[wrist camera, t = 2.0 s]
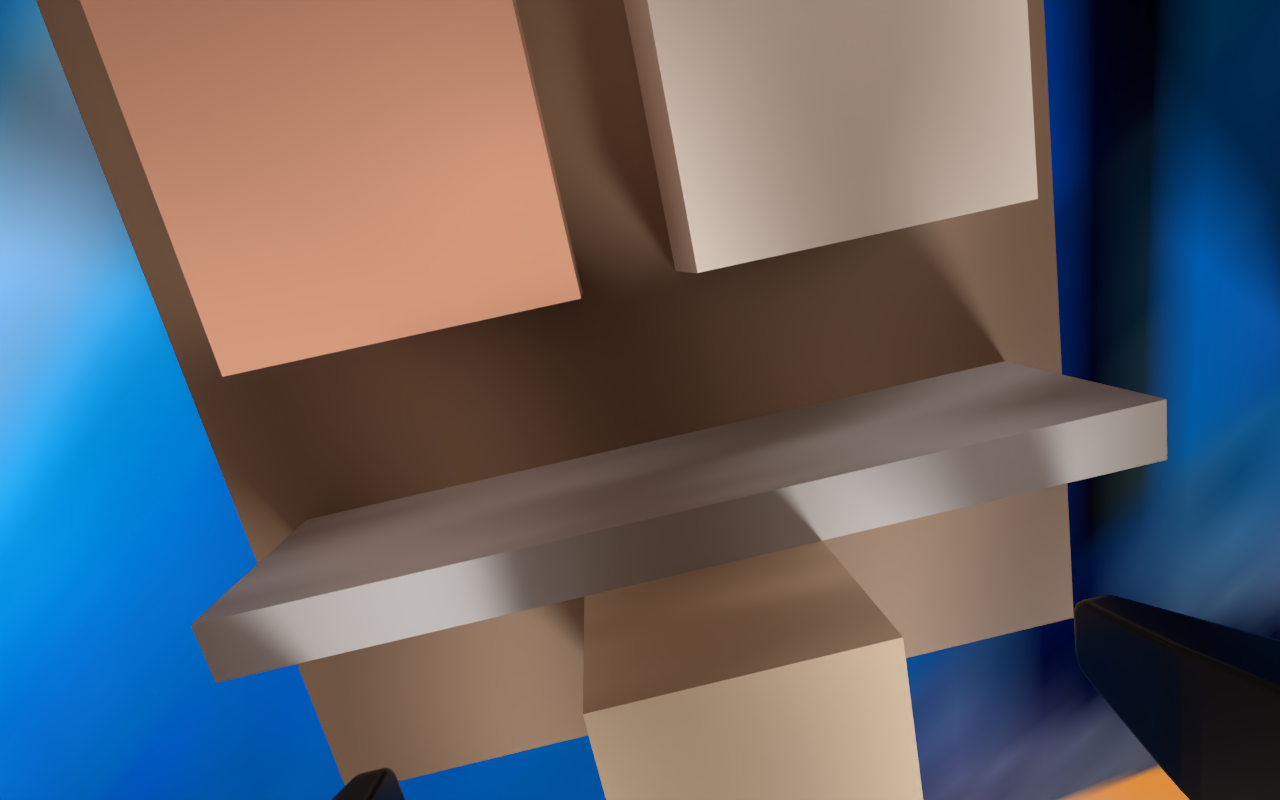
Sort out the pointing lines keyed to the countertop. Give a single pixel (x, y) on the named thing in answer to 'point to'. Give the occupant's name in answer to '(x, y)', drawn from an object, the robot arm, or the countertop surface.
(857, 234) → the tile cream
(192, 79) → the tile terracotta
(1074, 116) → the countertop surface
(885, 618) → the scraper
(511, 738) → the brown square tray
